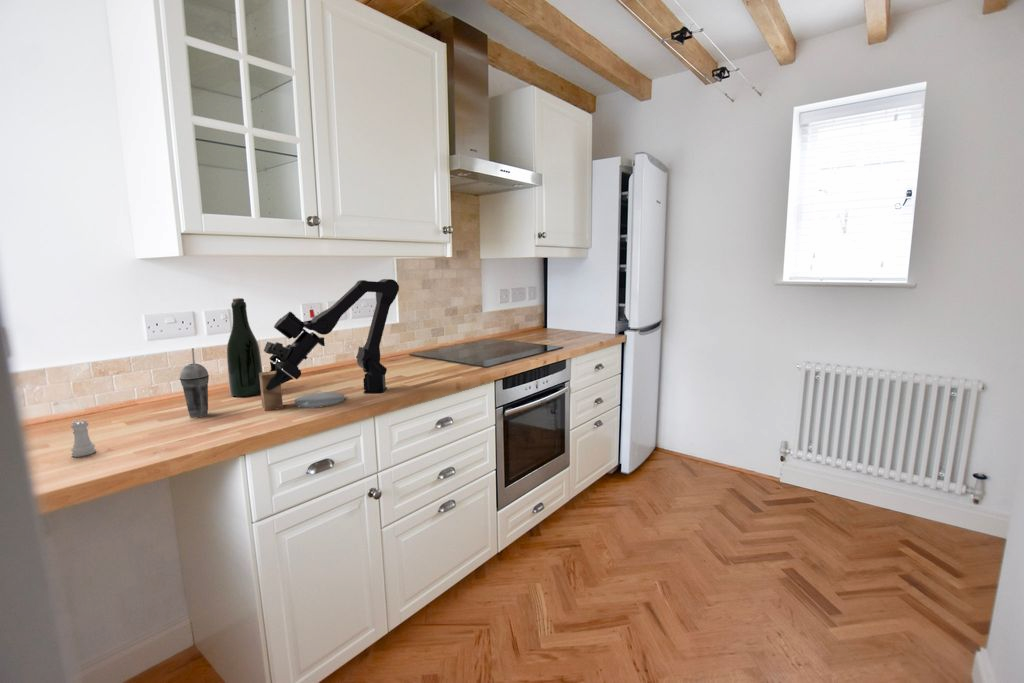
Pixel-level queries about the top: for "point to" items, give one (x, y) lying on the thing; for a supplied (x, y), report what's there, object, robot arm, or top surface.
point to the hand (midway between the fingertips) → (265, 387)
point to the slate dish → (319, 399)
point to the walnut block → (270, 392)
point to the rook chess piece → (81, 440)
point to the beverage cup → (195, 388)
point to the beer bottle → (243, 354)
